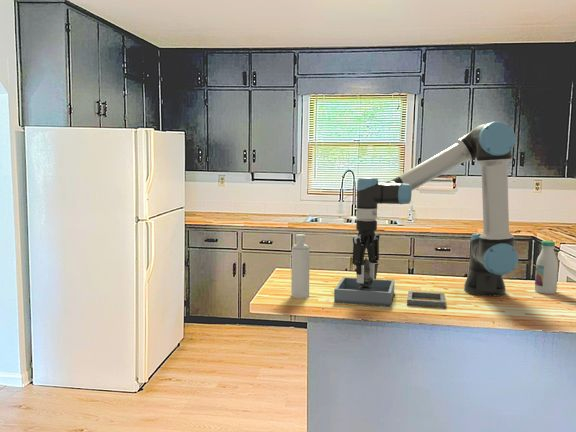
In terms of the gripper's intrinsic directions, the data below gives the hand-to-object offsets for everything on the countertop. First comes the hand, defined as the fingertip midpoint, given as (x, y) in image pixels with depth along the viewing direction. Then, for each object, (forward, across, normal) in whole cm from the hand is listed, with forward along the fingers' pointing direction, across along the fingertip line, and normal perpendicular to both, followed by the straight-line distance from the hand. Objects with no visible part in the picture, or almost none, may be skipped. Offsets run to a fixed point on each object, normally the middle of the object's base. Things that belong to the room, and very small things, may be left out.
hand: (365, 281), depth 199 cm
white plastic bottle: (+7, -15, +19) cm, 25 cm away
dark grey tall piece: (+3, 0, 0) cm, 3 cm away
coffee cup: (+6, +18, +11) cm, 22 cm away
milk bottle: (+6, +57, -45) cm, 73 cm away
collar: (+6, +11, -19) cm, 23 cm away
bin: (+6, 0, 0) cm, 6 cm away
